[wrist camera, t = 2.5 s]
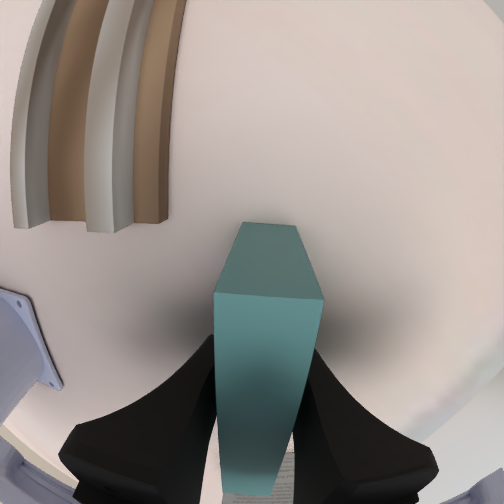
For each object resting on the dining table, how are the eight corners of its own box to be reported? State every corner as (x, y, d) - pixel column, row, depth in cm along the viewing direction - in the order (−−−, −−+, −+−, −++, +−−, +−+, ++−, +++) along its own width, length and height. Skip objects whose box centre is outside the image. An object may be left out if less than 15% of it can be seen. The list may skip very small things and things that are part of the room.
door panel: (236, 400, 14) (222, 492, 8) (243, 221, 11) (213, 291, 5) (271, 403, 14) (269, 495, 8) (295, 225, 10) (324, 299, 5)
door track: (35, 215, 11) (3, 227, 8) (87, -50, 5) (69, -65, 3) (167, 218, 11) (141, 234, 8) (209, -85, 5) (200, -109, 2)
